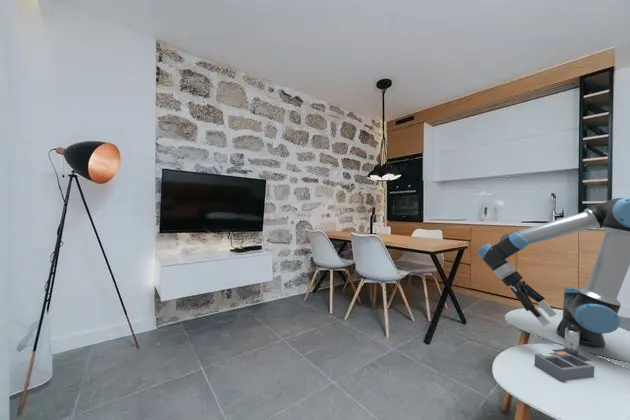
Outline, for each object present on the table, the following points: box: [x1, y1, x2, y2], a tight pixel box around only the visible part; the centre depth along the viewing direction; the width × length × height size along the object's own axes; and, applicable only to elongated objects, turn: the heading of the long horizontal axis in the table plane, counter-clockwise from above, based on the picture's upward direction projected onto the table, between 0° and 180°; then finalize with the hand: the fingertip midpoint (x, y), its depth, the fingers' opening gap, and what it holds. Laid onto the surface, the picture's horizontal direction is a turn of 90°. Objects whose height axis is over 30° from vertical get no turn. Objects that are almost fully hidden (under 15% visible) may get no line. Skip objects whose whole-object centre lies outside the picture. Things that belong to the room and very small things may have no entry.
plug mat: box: [551, 348, 592, 362], centre depth 100 cm, size 8×8×1 cm
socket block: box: [533, 351, 595, 382], centre depth 91 cm, size 14×9×4 cm, turn 101°
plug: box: [563, 324, 580, 358], centre depth 100 cm, size 4×4×12 cm
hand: (550, 319), depth 105 cm, fingers open, 13 cm apart
